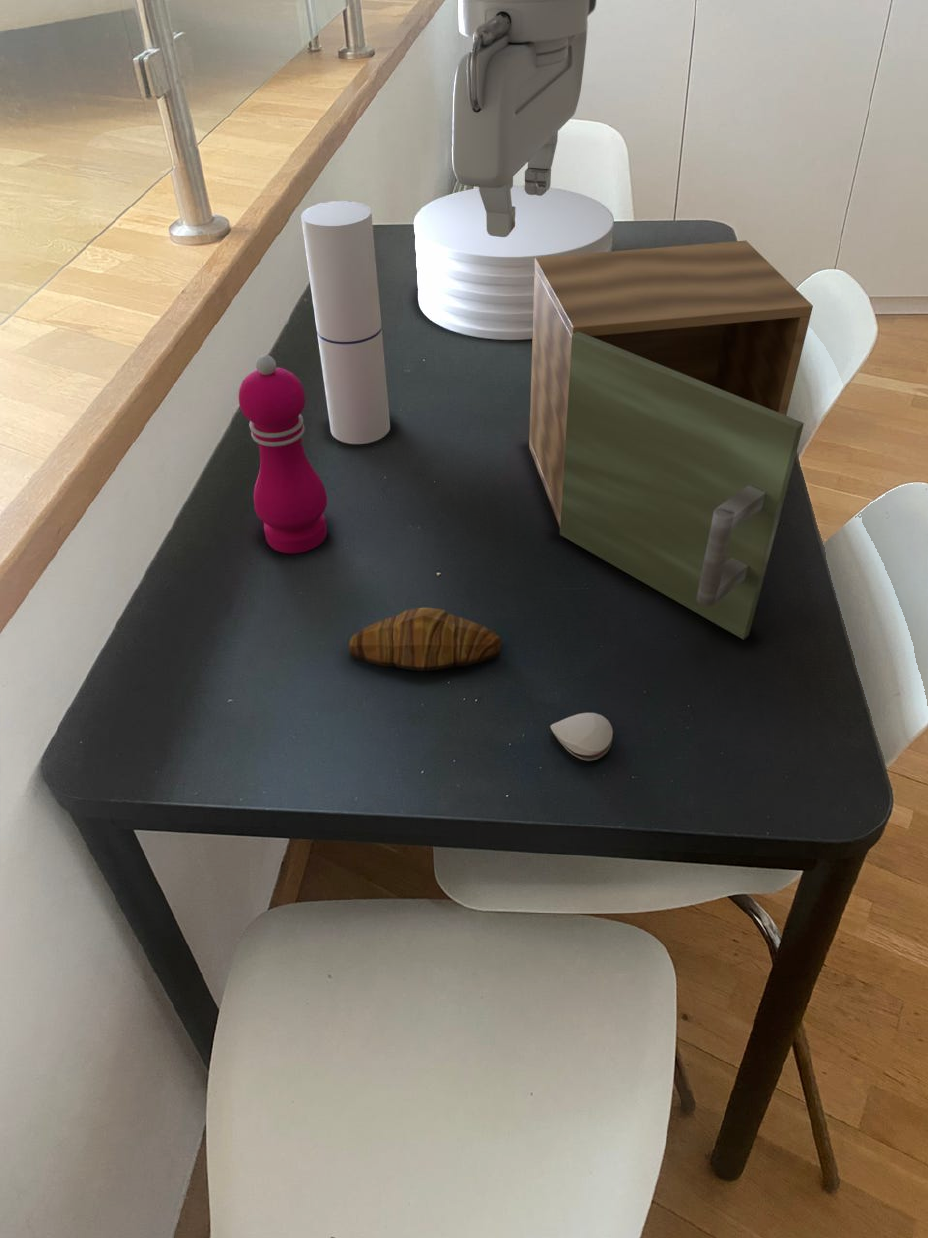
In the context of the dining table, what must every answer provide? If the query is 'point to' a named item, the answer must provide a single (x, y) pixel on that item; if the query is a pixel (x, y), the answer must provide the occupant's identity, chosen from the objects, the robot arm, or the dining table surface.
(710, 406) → the cupboard door
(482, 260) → the plate stack
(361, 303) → the cylindrical container
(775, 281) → the cupboard
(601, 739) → the clam shell
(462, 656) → the croissant
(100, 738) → the dining table surface
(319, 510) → the pepper mill
